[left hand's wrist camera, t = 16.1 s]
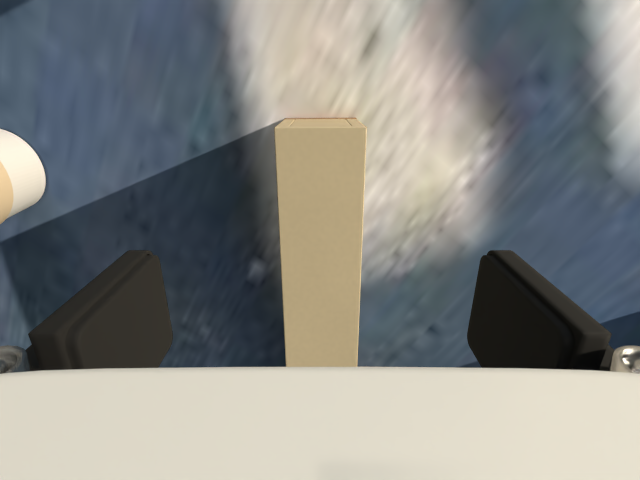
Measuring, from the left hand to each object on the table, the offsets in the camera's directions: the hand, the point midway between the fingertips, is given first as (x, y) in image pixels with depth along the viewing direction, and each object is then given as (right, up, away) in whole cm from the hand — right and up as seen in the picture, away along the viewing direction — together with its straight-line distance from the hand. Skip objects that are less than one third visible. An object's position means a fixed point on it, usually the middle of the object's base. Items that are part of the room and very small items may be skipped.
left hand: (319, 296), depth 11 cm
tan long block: (0, +1, +23) cm, 23 cm away
